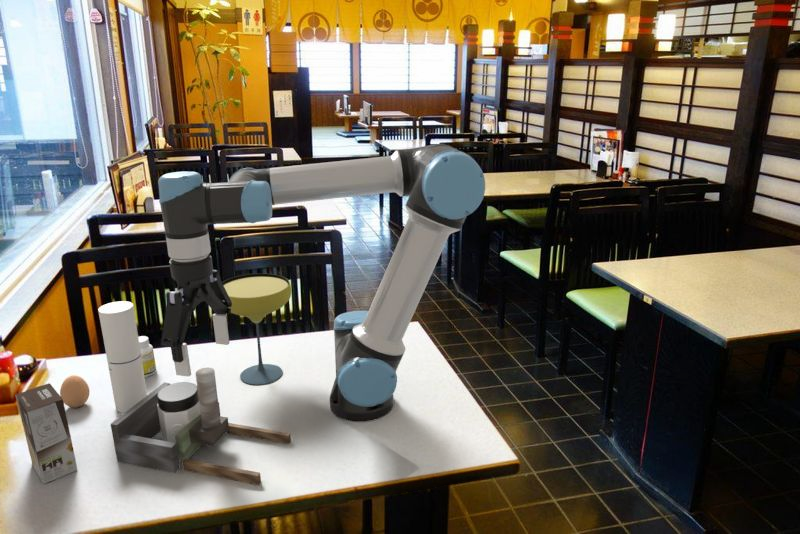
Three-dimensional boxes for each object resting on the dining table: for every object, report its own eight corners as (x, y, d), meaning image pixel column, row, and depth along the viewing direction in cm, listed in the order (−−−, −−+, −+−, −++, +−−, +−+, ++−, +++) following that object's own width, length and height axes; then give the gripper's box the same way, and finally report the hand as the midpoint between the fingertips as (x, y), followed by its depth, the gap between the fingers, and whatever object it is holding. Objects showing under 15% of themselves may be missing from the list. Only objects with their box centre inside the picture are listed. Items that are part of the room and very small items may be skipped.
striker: (236, 435, 128) (228, 360, 122) (208, 466, 118) (198, 386, 112) (208, 430, 130) (199, 356, 124) (178, 461, 119) (167, 382, 114)
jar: (158, 454, 122) (150, 403, 119) (166, 431, 130) (159, 383, 126) (203, 450, 124) (196, 399, 120) (208, 427, 131) (202, 380, 128)
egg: (57, 409, 139) (51, 379, 136) (80, 397, 144) (74, 368, 141) (75, 415, 136) (68, 385, 134) (97, 402, 141) (91, 373, 139)
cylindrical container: (133, 414, 136) (116, 315, 129) (108, 409, 139) (90, 311, 131) (154, 399, 143) (140, 303, 135) (131, 394, 145) (115, 299, 137)
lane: (293, 437, 128) (290, 401, 125) (255, 488, 112) (251, 448, 109) (169, 417, 135) (164, 382, 133) (117, 462, 120) (110, 424, 117)
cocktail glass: (262, 399, 142) (253, 303, 135) (210, 380, 151) (199, 289, 144) (310, 369, 157) (305, 280, 149) (260, 353, 166) (253, 268, 158)
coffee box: (79, 469, 118) (64, 399, 113) (43, 485, 113) (26, 412, 108) (64, 449, 124) (50, 382, 119) (30, 463, 120) (13, 393, 115)
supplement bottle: (134, 370, 157) (128, 336, 154) (156, 366, 159) (151, 333, 156) (134, 379, 152) (128, 345, 149) (157, 375, 154) (151, 341, 151)
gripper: (209, 237, 122) (221, 330, 129) (127, 276, 100) (146, 387, 106) (242, 239, 120) (252, 333, 127) (165, 279, 98) (183, 392, 104)
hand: (204, 358), depth 117 cm, fingers open, 13 cm apart
